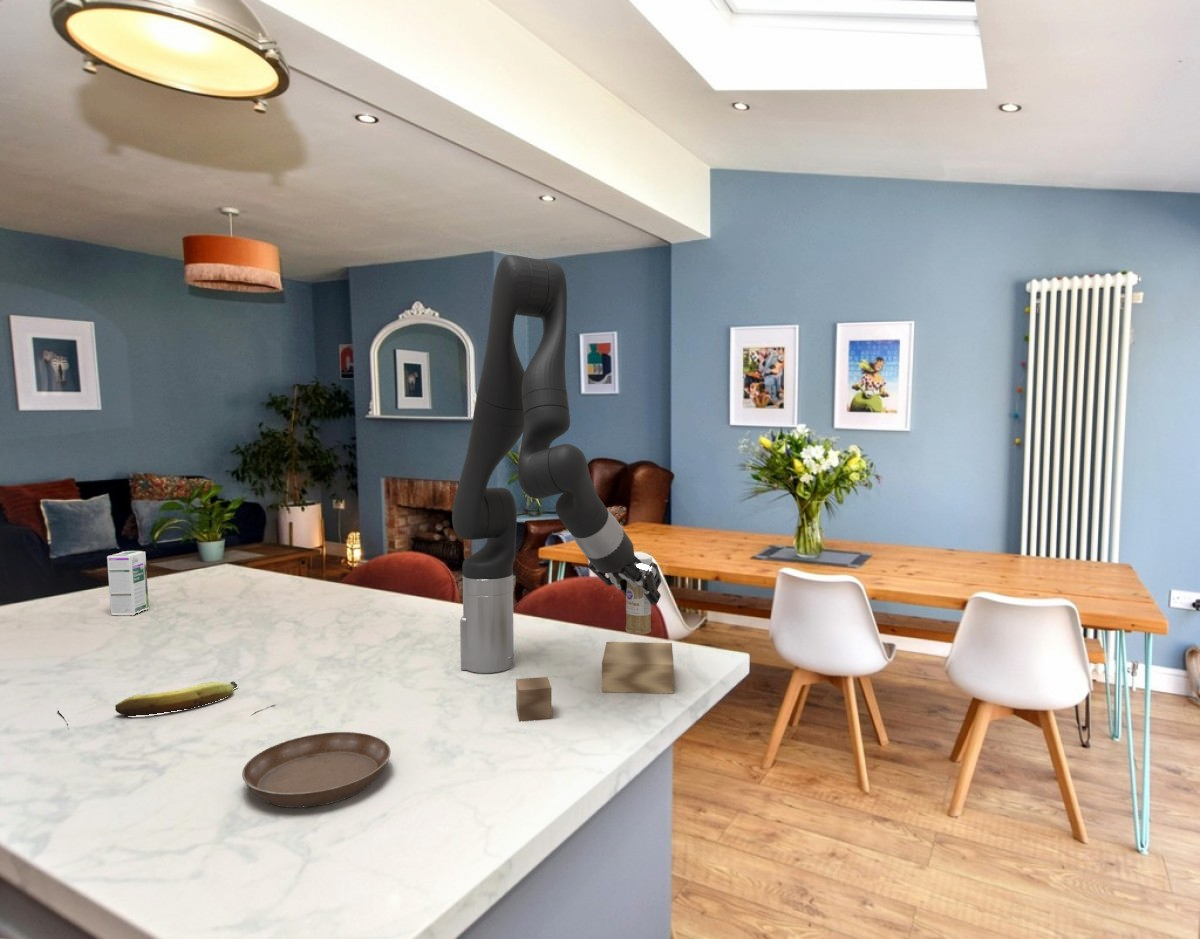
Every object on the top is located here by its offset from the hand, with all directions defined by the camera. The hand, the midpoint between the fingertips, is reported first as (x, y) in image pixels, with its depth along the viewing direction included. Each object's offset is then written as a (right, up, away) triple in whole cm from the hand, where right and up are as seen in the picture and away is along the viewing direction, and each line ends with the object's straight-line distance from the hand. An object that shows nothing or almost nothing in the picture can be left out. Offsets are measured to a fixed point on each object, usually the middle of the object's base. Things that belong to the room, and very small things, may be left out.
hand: (644, 598), depth 132 cm
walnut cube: (-18, -16, -15) cm, 28 cm away
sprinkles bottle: (-1, -6, -1) cm, 6 cm away
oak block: (-1, -14, 0) cm, 14 cm away
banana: (-75, -16, -11) cm, 78 cm away
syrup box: (-120, -12, +46) cm, 129 cm away
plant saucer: (-44, -17, -36) cm, 60 cm away
